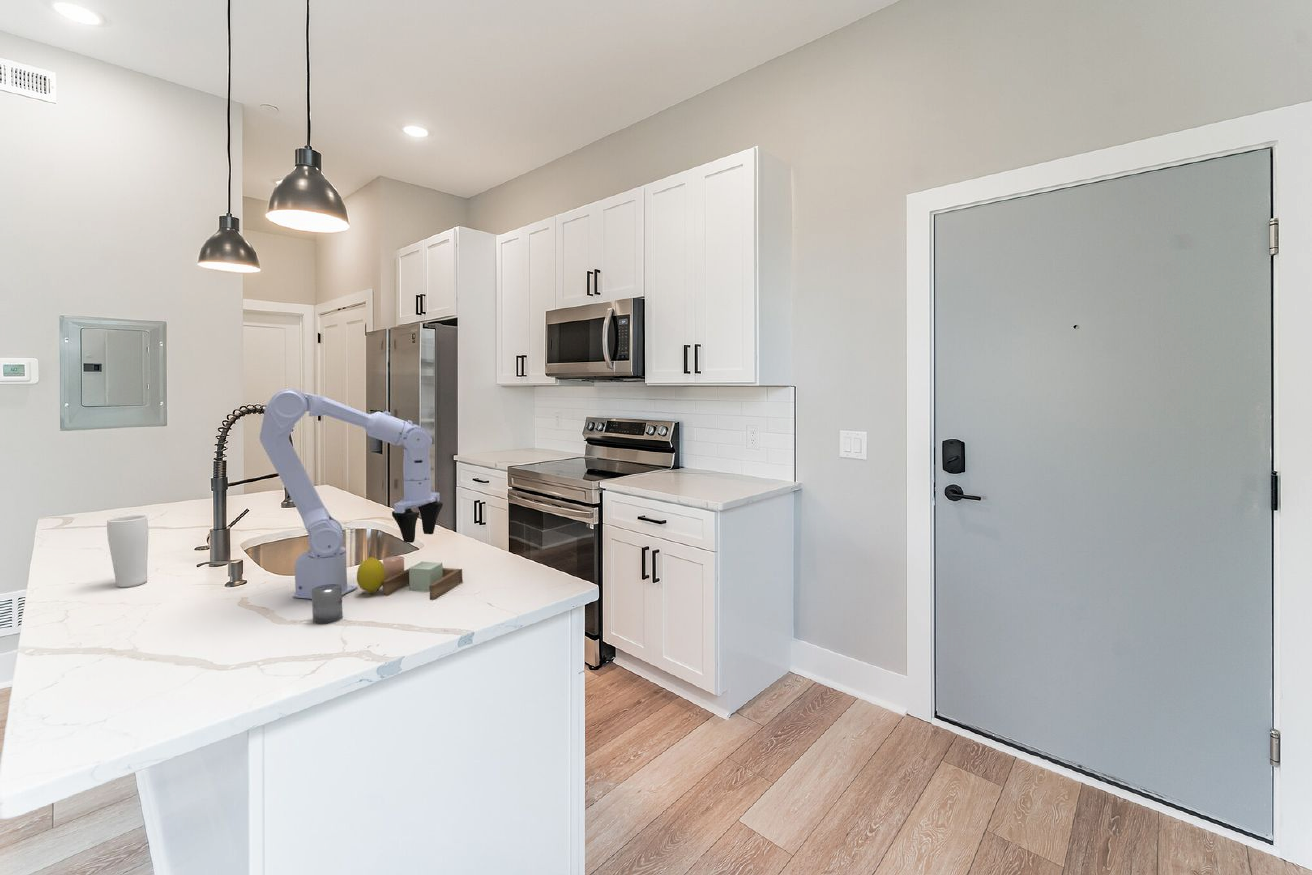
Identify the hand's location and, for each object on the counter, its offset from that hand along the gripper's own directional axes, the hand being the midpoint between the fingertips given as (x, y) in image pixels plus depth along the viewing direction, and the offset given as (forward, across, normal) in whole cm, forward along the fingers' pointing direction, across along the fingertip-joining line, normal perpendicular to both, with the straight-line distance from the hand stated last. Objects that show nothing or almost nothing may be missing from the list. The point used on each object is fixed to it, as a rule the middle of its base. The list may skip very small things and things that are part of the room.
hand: (419, 537), depth 135 cm
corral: (+10, -5, -4) cm, 12 cm away
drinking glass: (+10, -16, +61) cm, 64 cm away
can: (+10, -24, +4) cm, 26 cm away
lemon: (+10, -10, +5) cm, 15 cm away
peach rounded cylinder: (+10, -1, +6) cm, 12 cm away
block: (+10, -4, -4) cm, 11 cm away
